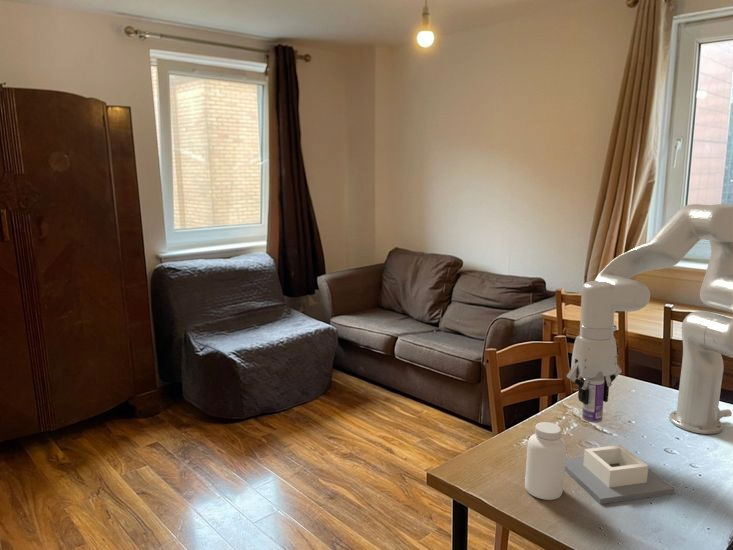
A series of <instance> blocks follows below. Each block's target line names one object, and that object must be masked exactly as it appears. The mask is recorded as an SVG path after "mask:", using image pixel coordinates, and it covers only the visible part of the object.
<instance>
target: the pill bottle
mask: <svg viewBox="0 0 733 550" xmlns="http://www.w3.org/2000/svg"><path fill="white" fill-rule="evenodd" d="M526 449H527V450H526V461H525V462H526V463H525V478H524V487H525V490H526V491H527V493H528V494H530V495H531V496H532V497H535V498H537V499H541V500H545V501H553V500H557V499H559V498H561V496H562V495H563V491H564V482H565V472H566V471H565V460H566V459H567V457H566V456H567V444H566V442H565V440H563V438H562V429H561V427H560V426H559V425H558V424H556V423H552V422H550V421H549V422H547V421H541V422H538V423H536V425H535V427H534V433H533V434H532V435H530V437H529V438H528V441H527V448H526Z"/></svg>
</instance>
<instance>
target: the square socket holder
mask: <svg viewBox="0 0 733 550" xmlns="http://www.w3.org/2000/svg"><path fill="white" fill-rule="evenodd" d="M564 472H566V473H567V474H568V475H569V476H570V477H571V478H572V479H573V480H574V481H575V482H576V483H577V484H579V486H581V488H583V490H585V491H586V492H587V493H588V494H589V495H590V496H591V498H593V499H594V500H595V501H596V502H597V503H598V504H599V505H601V504H608V503H609V504H610V503H617V502H624V501H631V500H638V499H645V498H650V497H651V498H652V497H659V496H667V495H674V494H675V489H676V488H675V487H674V486H672V485H671V484H669V482H667V481H665V480H664V479H663V478H662V477H660V476H659V475H658V474H656V473H655V472H654V471H652V470H651V469H650V468H649V465H648V464H647V463H645V461H642V460H641V459H640V458H639V457H638V456H636V455H634V454H633V453H632V452H630V451H629V450H628V449H627V448H625V447H624V446H623V445H621V444H617V445H607V446H600V447H592V448H591V447H590V448H585V449H584V453H583V456H578V457H569V458H566V460H565V471H564Z"/></svg>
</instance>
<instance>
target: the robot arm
mask: <svg viewBox="0 0 733 550" xmlns="http://www.w3.org/2000/svg"><path fill="white" fill-rule="evenodd" d="M703 240H705V241H708V242H709V244H710V251H711V252H710V258H709V261H708V265H707V266H706V271H705V274H704V277H703V281H702V283H701V287H700V290H699V299H700V301H701V302H702V303H703V304H704V305H705V306H708V307H711V308H714V309H717V310H721V311H724V312H728V313H732V314H733V204H726V203H724V204H723V203H717V204H699V203H698V204H697V203H696V204H695V203H694V204H693V203H692V204H691V203H690V204H686V205H683V206H682V207H681V208H679V209H678V210H677V211H676V212H675V213H674V214H673V215H672V216H671V217H670V218H669V220H668V221H666V223H665V224H664V225H663V226H662V227H661V228H660V229H659V230H657V232H656V233H655V234H654V235H653V236H652V237H651V238H650V239H649V240H647V242H645V243H643V244H641V245H638V246H636V247H633V248H632V249H629V250H628V251H626V252H624V253H621V254H620V255H618V256H617V257H615V258H613V259H612V260H610V262H609V263H608V264H607V265H606V266H604V268H603V269H602V270H601V271H600V272H599V273H598V275H597V276H596V277H595V278H594V280H590V281H587V282H584V284H583V285H582V287H581V300H580V322H579V323H580V324H579V335H577V336H576V338H575V340H574V345H573V349H572V355H571V367H570V370H569V371H568V373H567V374H566V378H568V379H569V380H571V381H572V382H573V383H574V384H575V385H576V386H577V387H578V393H577V394H578V395H577V398H578V401H579V402H581V403H582V404H583V403H584V404H585V405H587V404H588V401H589V390H588V389H587V386H588V383H589V379H590V378H594V377H596V375H597V374H598V372H600V371H601V372H602V373H603V376H604V396H603V403H604V402H605V403H607V402H608V401H609V390H610V389H609V388H610V387H611V386H612V383H613V382H614V381H615V379H616V377H618V376H619V375H620V374H621V373H622V369H621V367H620V366H619V365H618V350H617V349H618V348H617V341H616V337H615V336H614V332H616V331H617V330H618V326H617V325H615V324H614V323H615V313H616V312H636V311H640V310H642V309H644V308H645V307H647V305H648V304H649V302H650V301H651V292H650V290H649V288H648V287H647V285H646V284H644V283H643V282H640V281H638V280H635V279H631V278H632V277H635V276H636V275H639V274H641V273H645V272H650V271H656V270H657V271H658V270H663V269H667V268H671V267H674V266H676V265H677V264H679V263H680V261H682V259H683V258H684V257H685V256H686V255H688V253H689V252H690V251H691V249H693V248H694V247H695V246H696V245H697V243H699V242H700V241H703ZM681 338H682V340H681V341H682V346H683V347H682V360H681V361H682V362H681V369H680V370H681V371H680V378H679V386H678V396H677V406H676V410H674V411H672V412H670V414H669V420H670V422H671V423H672V424H673V425H674V426H676V427H678V428H680V429H682V430H684V431H688V432H692V433H697V434H701V435H702V434H703V435H715V434H718V433H721V432H722V431H723V428H724V424H723V423H722V422H721V419H722V418H729V417H732V415H733V413H732V411H731V410H730V409H720V407H719V404H720V396H721V389H722V381H723V374H724V368H725V367H724V360H723V356H722V355H724V356H726V357H729V358H733V316H732V317H729V316H728V317H727V316H725V315H721V314H718V313H715V312H712V311H711V312H710V311H705V310H696V311H692V312H690V313H689V314H687V315H686V316H685V318H684V319H683V321H682V324H681ZM577 375H578V377H576V376H577Z"/></svg>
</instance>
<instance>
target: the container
mask: <svg viewBox="0 0 733 550" xmlns="http://www.w3.org/2000/svg"><path fill="white" fill-rule="evenodd" d="M587 389H588V390H589V401H588V404H587V405H585V404H584V403H582V413H581V414H582V419H583V420H584V421H586V422H589V423H593V424H595V423H600V422H602V421H603V414H604V413H603V412H604V411H603V410H604V409H603V408H604V401H603V396H604V376H603V373H602V372H601V371H600V372H598V374H597V375H596V377H594V378H590V379H589V383H588V386H587Z"/></svg>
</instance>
